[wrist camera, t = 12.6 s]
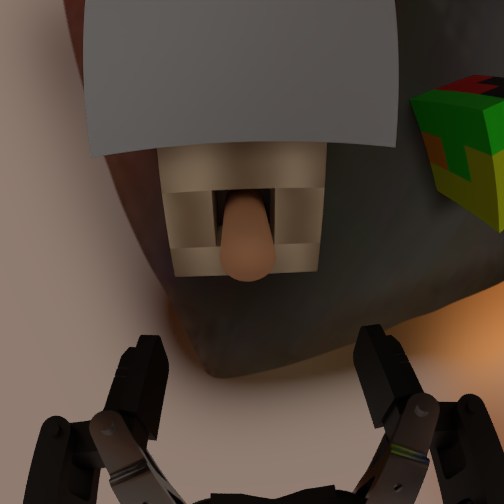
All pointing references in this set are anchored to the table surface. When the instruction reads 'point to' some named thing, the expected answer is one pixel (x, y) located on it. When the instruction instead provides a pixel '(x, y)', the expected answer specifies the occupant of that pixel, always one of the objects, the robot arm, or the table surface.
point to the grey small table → (239, 72)
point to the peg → (246, 236)
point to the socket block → (243, 177)
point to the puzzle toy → (467, 143)
